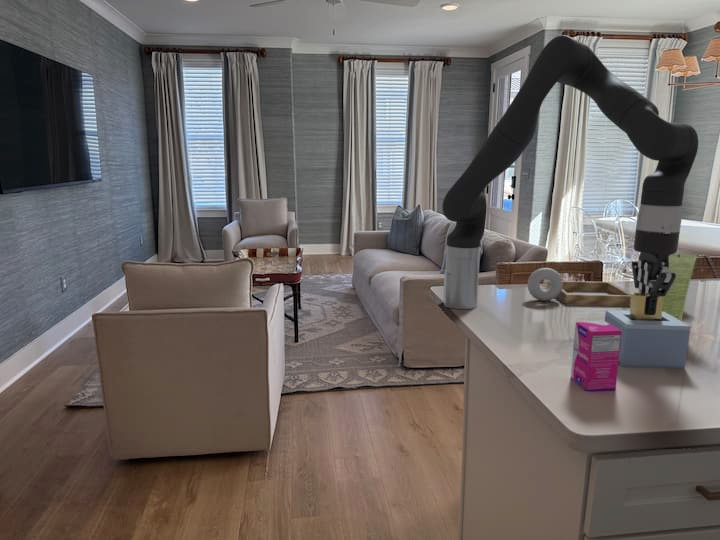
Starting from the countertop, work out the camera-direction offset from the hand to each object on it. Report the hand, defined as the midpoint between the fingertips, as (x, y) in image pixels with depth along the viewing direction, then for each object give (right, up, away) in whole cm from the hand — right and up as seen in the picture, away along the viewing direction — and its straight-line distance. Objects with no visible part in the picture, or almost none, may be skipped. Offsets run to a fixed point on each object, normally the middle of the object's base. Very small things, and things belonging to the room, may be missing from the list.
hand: (646, 313), depth 104 cm
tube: (+15, -7, +18) cm, 24 cm away
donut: (-4, -1, +47) cm, 47 cm away
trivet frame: (+11, 0, +51) cm, 53 cm away
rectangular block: (-3, +1, 0) cm, 3 cm away
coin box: (0, -10, +2) cm, 10 cm away
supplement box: (-16, -12, -11) cm, 23 cm away
